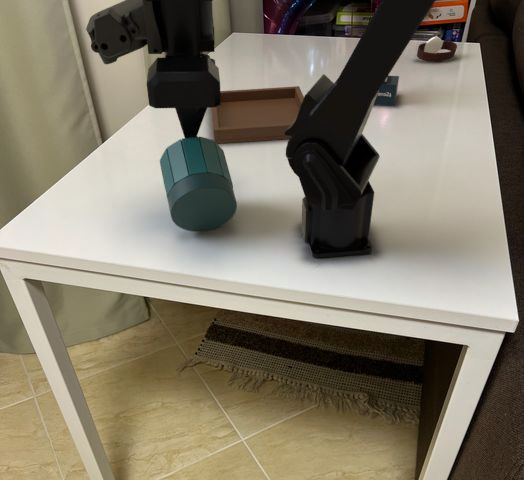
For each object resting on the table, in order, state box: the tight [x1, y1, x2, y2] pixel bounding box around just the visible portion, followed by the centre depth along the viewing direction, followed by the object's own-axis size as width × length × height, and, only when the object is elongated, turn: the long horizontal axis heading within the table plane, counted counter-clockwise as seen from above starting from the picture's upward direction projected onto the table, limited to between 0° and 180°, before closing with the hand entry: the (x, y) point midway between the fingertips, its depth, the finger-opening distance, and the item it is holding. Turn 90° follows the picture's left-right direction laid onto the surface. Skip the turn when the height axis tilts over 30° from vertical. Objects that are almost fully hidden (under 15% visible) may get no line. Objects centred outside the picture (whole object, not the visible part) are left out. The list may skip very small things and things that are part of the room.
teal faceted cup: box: [159, 135, 238, 233], centre depth 60 cm, size 7×7×7 cm
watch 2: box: [416, 35, 458, 63], centre depth 103 cm, size 8×5×4 cm, turn 105°
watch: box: [374, 74, 400, 107], centre depth 86 cm, size 6×8×11 cm
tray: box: [210, 85, 305, 145], centre depth 84 cm, size 15×16×2 cm
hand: (190, 139), depth 59 cm, fingers closed, pressing on teal faceted cup
